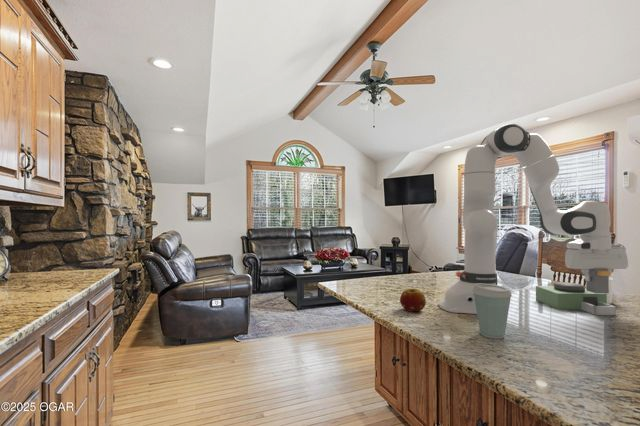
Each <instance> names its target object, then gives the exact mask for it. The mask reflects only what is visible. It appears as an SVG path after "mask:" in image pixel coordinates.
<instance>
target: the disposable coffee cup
mask: <svg viewBox="0 0 640 426" xmlns="http://www.w3.org/2000/svg"><path fill="white" fill-rule="evenodd" d="M473 293H474V298H475V305H476V311H477V314H476V315H477V322H478V323H477V324H478V328H479V332H480V335H482V337H486V338H488V339H496V340H499V339H503V338H504V336H505V335H506V331H507V330H506V329H507V324H508V323H507V322H508V316H509V311H510V310H509V309H510V304H511V297H512V292H511V290H510V289H509V288H507V287H505V286H503V285H502V286H501V285H499V284H497V285H492V284H484V283H476V284H475V287H473Z"/></svg>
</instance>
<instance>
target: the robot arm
mask: <svg viewBox="0 0 640 426" xmlns="http://www.w3.org/2000/svg"><path fill="white" fill-rule="evenodd" d="M465 155H466V156H465V161H464V162H465V163H464V168H463V169H464V171H463V177H464V178H463V180H464V181H463V204H462V205H463V206H462V227H463V229H464V231H465V232H464V235H465V236H464V249H463V250H464V251H463V253H464V260H463V262H464V263H463V264H464V270H463V271H462V272H460V271H458V270H456V271H455V272H454V273H455V276H456V277H459V280H458V281H457V282H456V283H453V285H451V286H450V287H449V288H447V289H446V290H445V293H444V300H439V301H438V306H439V307H440V309H442V310H444V311H446V312H449V313H458V314H471V315H472V314H473V315H477V311H476V305H475V298H474V293H473V287H475V284H476V283H484V284H492V285H498V280H499V279H498V273H497V272H496V271H497V269H496V268H497V267H496V266H497V265H496V260H497V259H496V252H497V251H496V249H497V241H498V228H499V227H498V225H499V223H498V221H499V220H498V218H497V215H496V214H495V213H494V204H495V203H494V202H495V197H496V163H497V160H498V159H500V158H503V157H507V156H510V155H511V156H513V157H515V159H516V160H517V161H518V163H519V165H520V167H521V169H522V170H523V173H524V175H525V177H526V181H527V183H528V186H529V187H528V188H529V190H530V193H531V196H532V198H533V200H534V203H535V205H536V208H537V210H538V213H539V224H540V226H541V229H542V230H543V231H544V232H545V233H547V234H548V235H550V236H579V235H580V238H578V239H576V240H572V241H571V240H570V241H569V242H568V241H567V243H566V248H567V250H566V251H565V256H564V262H565V263H564V264H565V267H566V268H568V269H571V270H580V272H581V273H582V275H583V276H584V281H585V282H586V281H592V276H589V274H588V272H589V269H594V268H607V269H608V271H610V274H612V273H613V270H614V269H615V270H626V269H627V268H629V260H628V259H629V258H628V255H627V250H626V249H627V248H626V246H624V244H621V243H612V234H611V231H610V229H611V225H612V220H611V211H610V208H609V205H608V204H607V203H605V202H603V201H599V200H598V201H597V200H584V201H582V202H581V203H579V204H578V205H576V206H573V207H572V208H568V209H566V210H565V209H564V210H561V209H560V208H559V207H558V206H557V204H556V201H555V199H554V196H553V194H552V191H551V184H552V182H554V181H555V179H556V178H557V177H558V175H559V173H560V166H559V163H558V160H557V158H556V156H555V154H554V153H553V151H552V149H551V147H550V146H549V145H548V143H547V142H546V141H545V139H543V137H542V136H541V135H540V134H538V133H529V132H528V131H526V130H525V129H524V128H523V127H522V126H521V125H519V124H516V123H509V124H508V123H507V124H504V125H501V126H500V127H499V128H497V129H494V130H493V131H492V132H490V133H489V134H487V135H486V136H485V137H484V139H483V140H482V141H481V143H480V145H475V146H472V147H471V148H469V149H468V150H467V152H466V154H465ZM609 278H610V276H608V281H609Z"/></svg>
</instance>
